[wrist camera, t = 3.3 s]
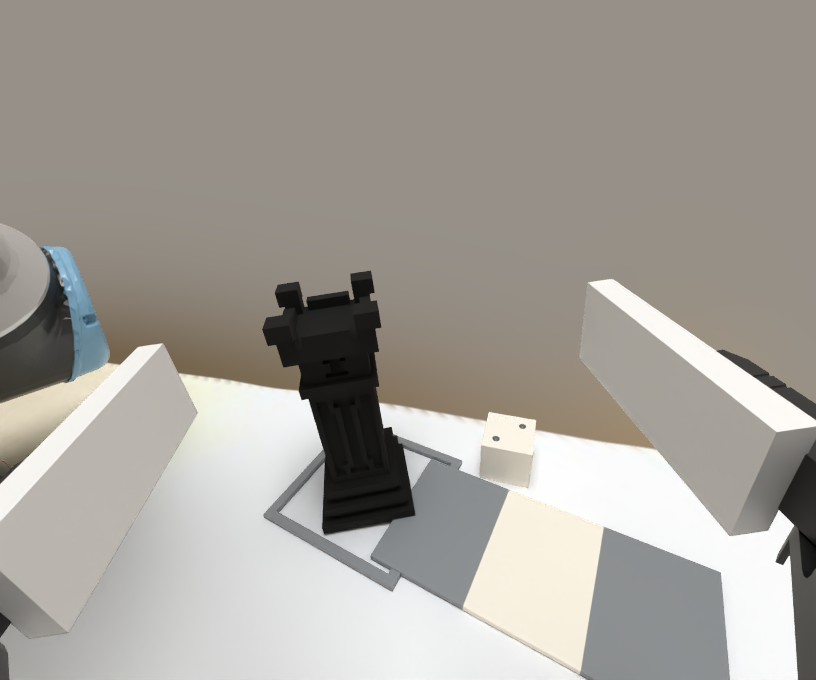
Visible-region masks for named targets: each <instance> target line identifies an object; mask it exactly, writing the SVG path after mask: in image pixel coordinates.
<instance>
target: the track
mask: <svg viewBox="0 0 816 680" xmlns="http://www.w3.org/2000/svg"><path fill="white" fill-rule="evenodd" d="M411 492H412V498H413V503H414V508H415V516H410V517H405V518H400V519H395V520H393V521H392V522H391V524H390V526H389V527H388V529H387V530H386V532H385V534H384V535H383V537H382V538H381V540H380V541H379V543H378V545H377V546H376V548H375V549H374V551H373V553H372V554H371V559H372V560H373V561H375V562H377V563H379V564H381V565H382V566H384V567H386V568H388V569H390V570H391V569H394V570H396V571H398V572H400V573H401V576H402V577H404V578H406V579H408V580H409V581H411V582H413V583H415V584H417V585H419V586H420V587H422V588H424V589H426V590H428V591H429V592H431V593H433V594H435V595H437V596H438V597H440V598H442V599H444V600H446V601H447V602H449V603H451V604H453V605H455V606H456V607H458V608H460V609H462V610H464V611H466V612H467V613H469V614H471V615H473V616H475V617H476V618H478V619H480V620H482V621H484V622H485V623H487V624H489V625H491V626H493V627H494V628H496V629H498V630H500V631H502V632H503V633H505V634H507V635H509V636H511V637H513V638H514V639H516V640H518V641H520V642H522V643H523V644H525V645H527V646H529V647H531V648H532V649H534V650H536V651H538V652H540V653H541V654H543V655H545V656H547V657H549V658H550V659H552V660H554V661H556V662H558V663H560V664H561V665H563V666H565V667H567V668H569V669H570V670H572V671H574V672H576V673H578V674H579V675H581V676H583V677H585V678H587V679H588V680H730V676H729V664H728V652H727V640H726V629H725V617H724V605H723V593H722V581H721V572H718V571H715V570H713V569H710V568H708V567H705V566H703V565H700V564H698V563H695V562H692V561H690V560H687V559H685V558H682V557H680V556H677V555H674V554H672V553H669V552H667V551H664V550H662V549H659V548H657V547H654V546H651V545H649V544H646V543H644V542H641V541H639V540H636V539H634V538H631V537H628V536H626V535H623V534H621V533H618V532H616V531H613V530H611V529H608V528H605V527H603V526H600V525H598V524H595V523H593V522H590V521H588V520H585V519H582V518H580V517H577V516H575V515H572V514H570V513H567V512H564V511H562V510H559V509H557V508H554V507H552V506H549V505H547V504H544V503H541V502H539V501H536V500H534V499H531V498H529V497H526V496H524V495H521V494H518V493H516V492H513V491H511V490H508V489H506V488H503V487H501V486H498V485H495V484H493V483H490V482H488V481H485V480H483V479H480V478H478V477H475V476H472V475H470V474H467V473H465V472H462V471H460V470H457V469H454V468H452V467H449V466H447V465H444V464H442V463H439V462H437V461H434V460H430V462H429V463H428V465H427V467H426V468H425V470H424V471H423V473H422V475H421V476H420V478H419V479H418V481H417V483H416V484H415V486H414V487H413V489H412V490H411Z"/></svg>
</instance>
